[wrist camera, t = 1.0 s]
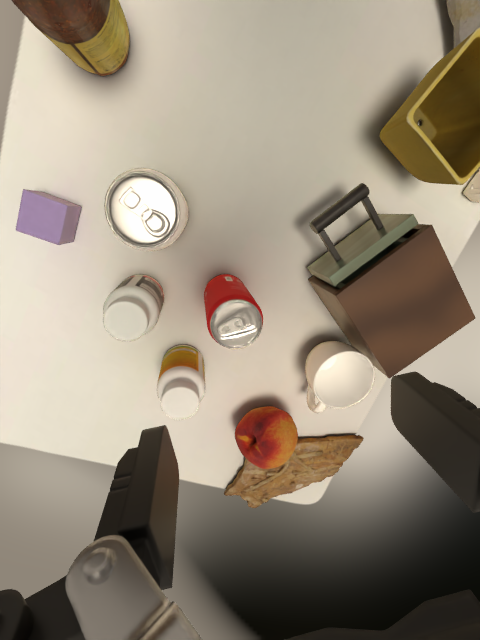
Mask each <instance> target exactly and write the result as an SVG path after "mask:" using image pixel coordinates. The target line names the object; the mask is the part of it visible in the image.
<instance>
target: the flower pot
mask: <svg viewBox="0 0 480 640" xmlns="http://www.w3.org/2000/svg"><path fill="white" fill-rule="evenodd" d="M419 120H420V121H422V124H421V126H419V125H418V121H419ZM380 139H381V141H382V142H383V143H384V145H385V146H386V147H387V148H388V149H389V150H390V151H391V152H392V154H393V155H394V156H395V157H396V158H397V159H398V160H399V162H400V163H401V164H402V165H403V166H404V167H405V168H406V170H407V171H408V172H410V173H411V174H412V175H413V176H414V177H416V178H417V179H419V180H422V181H424V182H429V183H439V184H456V185H463V184H464V183H465V182H466V181H467V180H468V179H469V178H470V177H471V176H472V175H473V174H474V173H475V172H476V171H477V169H478V168H479V167H480V28H478V29H476V30H475V31H474V32H473V33H472V34H471V35H469V36H468V37H467V38H466V39H465V40H463V41H462V42H461V43H460V44H459V45H457V46H456V47H455V48H454V49H453V50H452V51H450V52H449V53H448V54H447V55H446V56H445V57H444V58H442V59H441V60H440V61H439V62H438V63H437V64H436V65H435V66H434V67H433V68H432V69H431V70H430V71H429V72H428V73H427V75H426V76H425V77H424V78H423V80H422V81H421V82H420V83H419V85H418V86H417V87H416V88H415V90H414V91H413V92H412V93H411V95H410V96H409V97H408V98H407V99H406V101H405V102H404V103H403V104H402V106H401V107H400V108H399V109H398V111H397V112H396V113H395V114H394V115H393V117H392V118H391V119H390V120H389V121H388V122H387V124H386V125H385V126H384V127H383V129H382V130H381V132H380Z"/></svg>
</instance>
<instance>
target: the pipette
mask: <svg viewBox="0 0 480 640" xmlns="http://www.w3.org/2000/svg"><path fill="white" fill-rule="evenodd" d="M463 194H464V195H465V196H466V197H468V198H469V199H470V201H473V202H480V170H479V171H478V173H477V174H476V175H475V176H474V178H473V179H472V180H471V182H470V183H469V184H468V186H467V187H466V189H465V190H464V192H463Z"/></svg>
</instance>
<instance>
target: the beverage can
mask: <svg viewBox="0 0 480 640" xmlns="http://www.w3.org/2000/svg"><path fill="white" fill-rule="evenodd" d="M204 300H205V309H206V319H207V327H208V330H209V333H210V335H211V336H212V338H213V339H214V340H215V341H216V342H217V343H219V344H220V345H222V346H224V347H226V348H229V349H240V348H244V347H247V346H249V345H250V344H252V343H253V342H254V341H255V340H256V339H257V338H258V336H259V334H260V332H261V329H262V325H263V315H262V311H261V309H260V307H259V306H258V304H257V303H256V301H255V300H254V298H253V297H252V295H251V294H250V293H249V291H248V290H247V288H246V287H245V285H244V284H243V283H242V281H241V280H240V279H238V278H237V277H235V276H233V275H228V274H223V275H219V276H216V277H214V278H213V279H212V280H211V281H210V282H209V283H208V284H207V286H206V288H205V292H204Z"/></svg>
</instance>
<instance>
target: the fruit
mask: <svg viewBox="0 0 480 640" xmlns="http://www.w3.org/2000/svg"><path fill="white" fill-rule="evenodd" d="M235 439H236V442H237V445H238V447H239V449H240V451H241V453H242V455H243V456H244V457H245V458H246V459H247V460H248V461H249V462H251V463H252V464H254V465H256V466H257V467H259V468H262V469H271V468H276V467H279V466H281V465H283V464H284V463H285V462H286V461H287V460H288V459H289V458H290V457H291V456H292V454H293V452H294V450H295V448H296V445H297V440H298V434H297V428H296V425H295V423H294V421H293V419H292V417H291V416H290V415H289V414H288V413H287V412H285V411H283V410H280V409H278V408H276V407H273V406H266V407H260V408H255V409H252V410H251V411H249V412H248V413H247V414H246V415H245V416H244V417H243V418H242V419H241V421H240V422H239V423H238V425H237V427H236V430H235Z"/></svg>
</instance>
